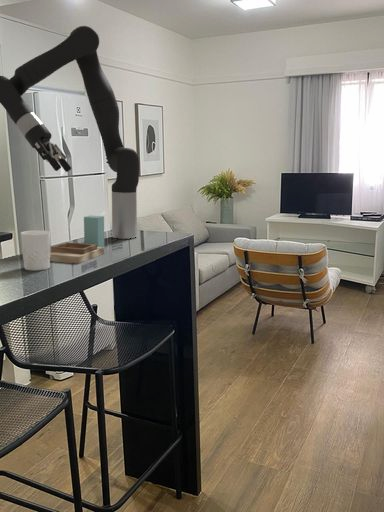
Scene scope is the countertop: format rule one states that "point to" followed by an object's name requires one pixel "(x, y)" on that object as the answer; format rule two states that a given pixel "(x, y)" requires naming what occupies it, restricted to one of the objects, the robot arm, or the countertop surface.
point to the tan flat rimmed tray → (74, 252)
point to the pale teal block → (94, 230)
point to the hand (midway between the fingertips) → (64, 169)
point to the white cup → (36, 249)
